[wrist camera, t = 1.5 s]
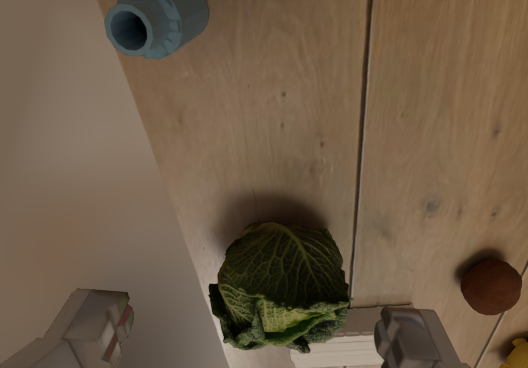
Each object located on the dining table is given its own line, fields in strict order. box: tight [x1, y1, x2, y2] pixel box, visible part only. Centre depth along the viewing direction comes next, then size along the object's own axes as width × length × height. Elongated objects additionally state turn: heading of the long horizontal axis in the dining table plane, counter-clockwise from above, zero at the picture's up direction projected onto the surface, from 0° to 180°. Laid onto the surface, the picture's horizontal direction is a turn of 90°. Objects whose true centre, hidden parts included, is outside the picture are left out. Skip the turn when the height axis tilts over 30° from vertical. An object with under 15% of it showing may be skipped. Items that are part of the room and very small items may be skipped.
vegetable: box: [209, 222, 354, 354], centre depth 46 cm, size 20×19×20 cm
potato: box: [460, 259, 522, 315], centre depth 53 cm, size 8×11×8 cm
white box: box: [290, 304, 414, 368], centre depth 63 cm, size 25×15×7 cm, turn 99°
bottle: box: [105, 0, 209, 59], centre depth 28 cm, size 5×5×16 cm
